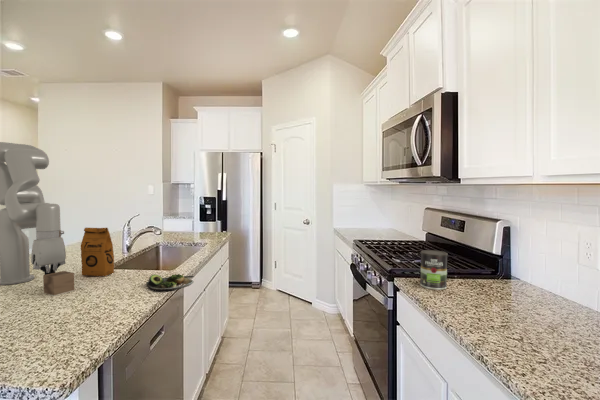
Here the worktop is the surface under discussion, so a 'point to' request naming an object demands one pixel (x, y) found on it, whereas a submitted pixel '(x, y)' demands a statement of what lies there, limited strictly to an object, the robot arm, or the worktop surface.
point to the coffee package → (97, 252)
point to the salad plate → (168, 282)
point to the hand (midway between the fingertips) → (50, 281)
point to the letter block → (58, 283)
